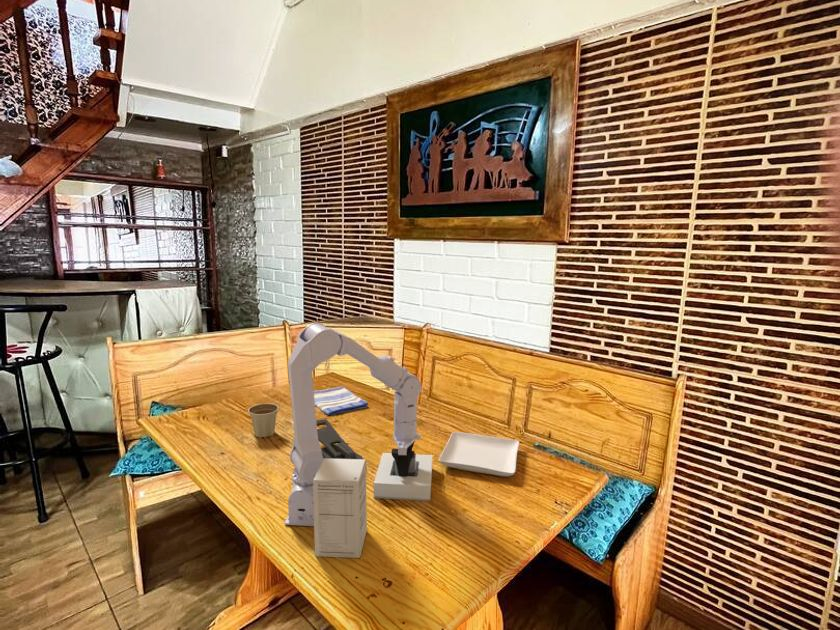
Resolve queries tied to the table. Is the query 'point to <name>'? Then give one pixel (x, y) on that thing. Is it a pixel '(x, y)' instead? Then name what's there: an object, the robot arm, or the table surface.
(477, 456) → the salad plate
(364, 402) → the dish towel
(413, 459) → the bracket
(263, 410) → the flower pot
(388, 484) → the well block
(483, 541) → the table surface
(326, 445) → the zipper pull
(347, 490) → the supplement box
